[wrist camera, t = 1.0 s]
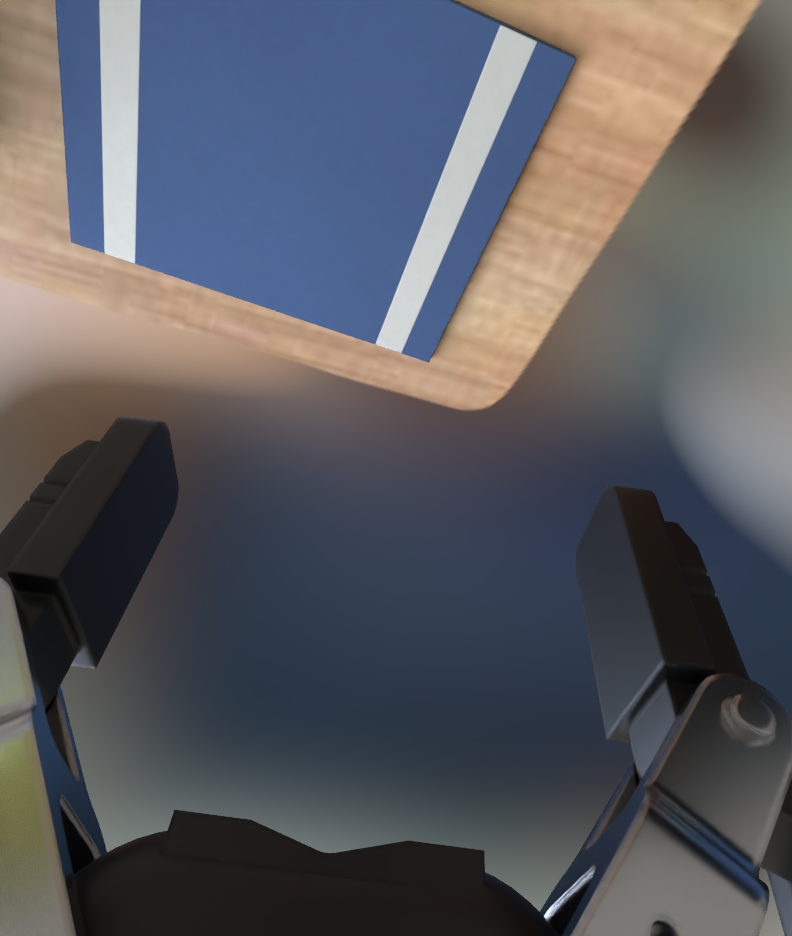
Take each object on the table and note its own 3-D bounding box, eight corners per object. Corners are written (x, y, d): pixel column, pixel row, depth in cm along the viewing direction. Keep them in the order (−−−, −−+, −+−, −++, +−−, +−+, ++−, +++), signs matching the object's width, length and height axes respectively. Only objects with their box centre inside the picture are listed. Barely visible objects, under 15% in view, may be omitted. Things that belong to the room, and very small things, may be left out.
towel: (73, 238, 32) (70, 242, 31) (48, -186, 20) (42, -186, 20) (429, 358, 35) (428, 362, 35) (575, 55, 24) (576, 58, 24)
